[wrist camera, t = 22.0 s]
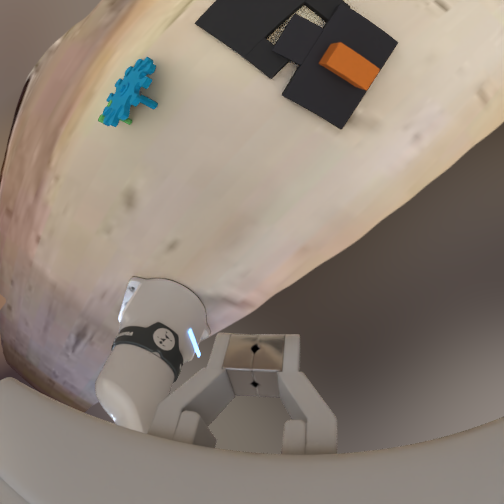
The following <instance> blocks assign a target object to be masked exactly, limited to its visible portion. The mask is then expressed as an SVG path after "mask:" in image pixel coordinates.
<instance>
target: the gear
mask: <svg viewBox="0 0 504 504" xmlns="http://www.w3.org/2000/svg"><path fill="white" fill-rule="evenodd" d="M155 69H156V65H154V64H153V60H152V59H150V58H149V57H146V58H145V60H144V61H143V60H142V59H139V60H137V62H136V63H135V66H134V68H133V67H132V66H130V67H129V68H128V69H127V70H126V71H125V76H124V79H123V80H122V79H119V80H118V81H117V82H116V84H115V87H116V92H115V94H113V93H110V95H109V97H108V99H107V102H109V103H108V105H107V106H106V107H105V109H104V111H103V114H101V115H100V117H99V119H98V121H99V122H101V123H104V124H105V125H107V126H110V125H111V126H114V127H116V126H117V125H118V123H119V120H120V121H123V122H125V123H127V124H129V125H130V124H131V123H132V120H131V119H129V118H128V117H129V114H130V107H131V106H132V105H134V106H137V105H138V104H139V103H142V104H144V105H146V106H148V107H150V108H152V109H155V108H156V107H157V105H158V103H157V102H155V101H153V100H151V99H149V98H148V97H146V96H144V95H142V92H141V91H140V88H141V87H143V88H145V89H147V88H148V87H149V86H150V84H151V82H152V79H150V78H149V77H147V76H146V75H147V74H150V75H151V74H153V73H154V71H155ZM145 76H146V77H145Z"/></svg>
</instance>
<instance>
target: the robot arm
mask: <svg viewBox="0 0 504 504" xmlns="http://www.w3.org/2000/svg"><path fill="white" fill-rule="evenodd" d="M118 321H119V322H120V327H119V332H118V335H117V336H116V338H115V340H114V342H113V345H112V352H111V354H110V356H109V357H108V359H107V361H106V363H105V365H104V367H103V368H102V370H101V372H100V374H99V376H98V378H97V380H96V383H95V391H96V396H97V398H98V400H99V402H100V403H101V405H102V407H103V408H104V409H105V411H106V412H107V413H108V414H109V416H110V417H111V418H112V419H113V420H114V422H115V423H116V424H113V423H110V422H107V421H104V420H102V419H99V418H96V417H93V416H91V415H88V414H86V413H83V412H81V411H78V410H76V409H74V408H71V407H69V406H67V405H65V404H62V403H60V402H58V401H56V400H54V399H52V398H50V397H48V396H46V395H44V394H42V393H40V392H38V391H36V390H34V389H32V388H30V387H28V386H26V385H24V384H23V383H21V382H19V381H18V380H16V379H14V378H11V377H7V378H5V379H3V380H1V381H0V504H504V417H501V418H499V419H497V420H494V421H491V422H489V423H486V424H483V425H480V426H478V427H475V428H472V429H469V430H465V431H462V432H459V433H456V434H453V435H449V436H445V437H441V438H438V439H433V440H430V441H425V442H420V443H415V444H410V445H405V446H400V447H394V448H387V449H380V450H373V451H364V452H354V453H341V454H337V418H336V417H335V415H334V414H333V412H332V411H331V410H330V408H329V407H328V406H327V404H326V403H325V402H324V400H323V399H322V398H321V396H320V395H319V394H318V392H317V391H316V390H315V388H314V387H313V385H312V384H311V383H310V381H309V380H308V378H307V377H306V376H305V374H304V373H303V372H300V335H299V334H259V335H252V334H234V333H218V334H217V336H216V338H215V342H214V345H213V348H212V352H211V355H210V358H209V362H208V365H207V368H202V369H200V371H198V372H197V373H196V374H195V375H193V376H192V377H191V378H190V379H189V380H187V381H186V382H185V383H184V384H183V385H181V386H180V387H179V388H178V389H176V390H175V391H174V392H173V393H172V394H170V395H169V392H170V390H171V387H172V384H173V383H174V382H175V381H176V380H177V378H178V376H179V374H180V372H181V368H182V365H183V363H185V362H188V361H191V360H192V358H193V356H194V354H195V352H196V353H197V356H198V357H200V351H199V348H198V345H199V343H200V341H201V340H203V339H206V338H208V337H209V335H210V329H209V327H208V325H207V323H206V311H205V308H204V306H203V304H202V302H201V301H200V300H199V298H198V297H197V296H196V295H195V294H194V293H193V292H192V291H190V290H189V289H187V288H186V287H184V286H183V285H181V284H179V283H176V282H174V281H171V280H167V279H142V278H138V277H132V278H131V279H130V281H129V283H128V286H127V289H126V293H125V296H124V299H123V303H122V306H121V309H120V313H119V316H118ZM235 395H238V396H260V397H276V398H280V399H281V401H282V403H283V404H284V406H285V408H286V410H287V411H288V413H289V415H290V417H291V419H292V420H288V421H287V422H286V423H285V425H284V434H283V442H282V451H281V454H264V453H252V452H251V453H250V452H240V451H233V450H224V449H217V448H215V445H216V438H215V437H214V436H213V434H212V433H211V431H210V430H209V428H208V426H209V425H210V424H211V423H212V421H214V420H215V418H216V417H217V416H218V415H219V414H220V413H221V412H222V411H223V410H224V409H225V408H226V406H227V405H228V404H229V403H230V402H231V401H232V400H233V399H234V398H235Z"/></svg>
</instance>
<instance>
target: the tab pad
mask: <svg viewBox="0 0 504 504" xmlns="http://www.w3.org/2000/svg"><path fill="white" fill-rule="evenodd" d="M397 44H398V42H397V41H396V40H394V39H393V38H392V37H391V36H389V35H388V34H387V33H385V32H384V31H383V30H381V29H380V28H379V27H377V26H376V25H374V24H373V23H372V22H370V21H369V20H367V19H366V18H364V17H363V16H361V15H360V14H358V13H357V12H355V11H354V10H352V9H350V8H349V7H347V6H346V5H344V4H342V3H341V4H339V5H338V6H337V7H336V9H335V10H334V12H333V13H332V15H331V16H330V18H329V19H328V21H327V22H326V24H325V25H324V27H323V28H321V27H319V26H318V25H316V24H314V23H312V22H310V21H308V20H307V19H305V18H303V17H301V16H299V15H297V14H294V15H293V17H292V18H291V20H290V21H289V23H288V24H287V26H286V28H285V29H284V31H283V32H282V34H281V36H280V37H279V39H278V41H277V42H276V44H275V46H274V47H273V49H272V52H275V53H277V54H279V55H281V56H283V57H285V58H287V59H289V60H291V61H292V62H294V63H296V64H298V65H299V67H298V68H297V70H296V72H295V73H294V75H293V77H292V78H291V80H290V82H289V83H288V85H287V87H286V88H285V90H284V92H283V94H282V95H283V96H284V97H286V98H288V99H289V100H291V101H293V102H295V103H297V104H299V105H301V106H302V107H304V108H306V109H308V110H310V111H311V112H313V113H315V114H317V115H318V116H320V117H322V118H323V119H325V120H327V121H328V122H330V123H332V124H333V125H335V126H337V127H338V128H340V129H342V128H343V127H344V125H345V124H346V122H347V121H348V119H349V118H350V116H351V115H352V113H353V111H354V110H355V108H356V107H357V105H358V104H359V102H360V101H361V99H362V98H363V96H364V95H365V93H366V92H367V90H368V88H369V87H370V85H371V84H372V82H373V81H374V79H375V78H376V76H377V75H378V73H379V72H380V70H381V68H382V67H383V65H384V64H385V62H386V61H387V59H388V58H389V56H390V55H391V53H392V51H393V50H394V48H395V47H396V45H397Z"/></svg>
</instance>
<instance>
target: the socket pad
mask: <svg viewBox="0 0 504 504" xmlns="http://www.w3.org/2000/svg"><path fill="white" fill-rule="evenodd" d="M341 3H342V4H344V5H346V6H347V7H349V8H350V6H349V5H348V4H346V3H345V2H344V1H343V0H216V1H215V2H214V3H213V4H212V5H211V6H210V7H209V8H208V10H207V11H206V12H205V13H204V14H203V15H202V16H201V17H200V18H199V19H198V20H197V21H196V22H195V24H196V25H197V26H199V27H201V28H202V29H204V30H205V31H207V32H208V33H210V34H211V35H213V36H214V37H216V38H217V39H219V40H220V41H222V42H223V43H225V44H226V45H227V46H229V47H230V48H232V49H233V50H234V51H236V52H237V53H238V54H240V55H241V56H242V57H244V58H245V59H246V60H248V61H249V62H250V63H252V64H253V65H254V66H255V67H257V68H258V69H259V70H261V71H262V72H263V73H264V74H266V75H267V76H268V77H269V78H271V79H272V78H273V77H274V76H275V75H276V74H277V73H278V72H279V71H280V70H281V69H282V68H283V67H284V66H285V65H286V64H287V63H288V62H289V61H290V60H289V59H287V58H285V57H283V56H281V55H279V54H277V53H275V52H272V49H273V47H274V46H275V45H273V44H272V43H271V42H269V41H268V40H267V38H268V37H269V36H270V35H271V34H272V33H273V32H274V31H275V30H276V29H277V28H278V27H279V26H281V25H282V24H283V23H284V22H285V21H286V20H287V19H288V18H289V17H291V16H292V15H293V14H294V13H295V12H296V11H297V10H299V9H300V8H301V7H302V6H303V5H305V6H307V7H308V8H309V9H311V10H312V11H313V12H315V13H316V14H317V15H318V16H320V17H321V18H322V19H323V20H325V21H326V22H327V21H328V19H329V18H330V16H331V15H332V13H333V12H334V10H335V9H336V7H337V6H338V5H339V4H341Z"/></svg>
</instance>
